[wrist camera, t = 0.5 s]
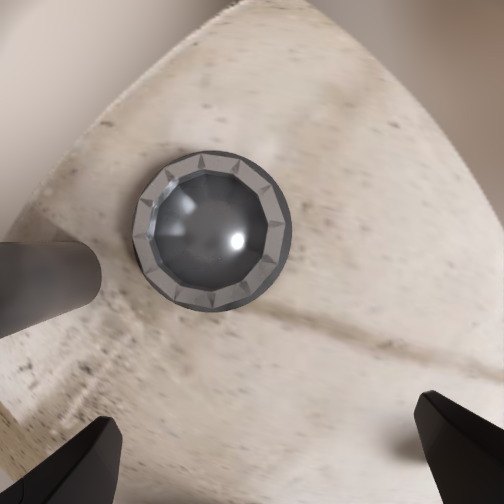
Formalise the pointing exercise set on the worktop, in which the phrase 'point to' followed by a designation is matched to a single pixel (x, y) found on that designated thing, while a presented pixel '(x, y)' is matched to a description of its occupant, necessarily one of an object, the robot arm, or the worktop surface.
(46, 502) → the robot arm
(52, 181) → the worktop surface
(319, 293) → the worktop surface
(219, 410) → the worktop surface
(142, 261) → the mount ring
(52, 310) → the grey cylinder
